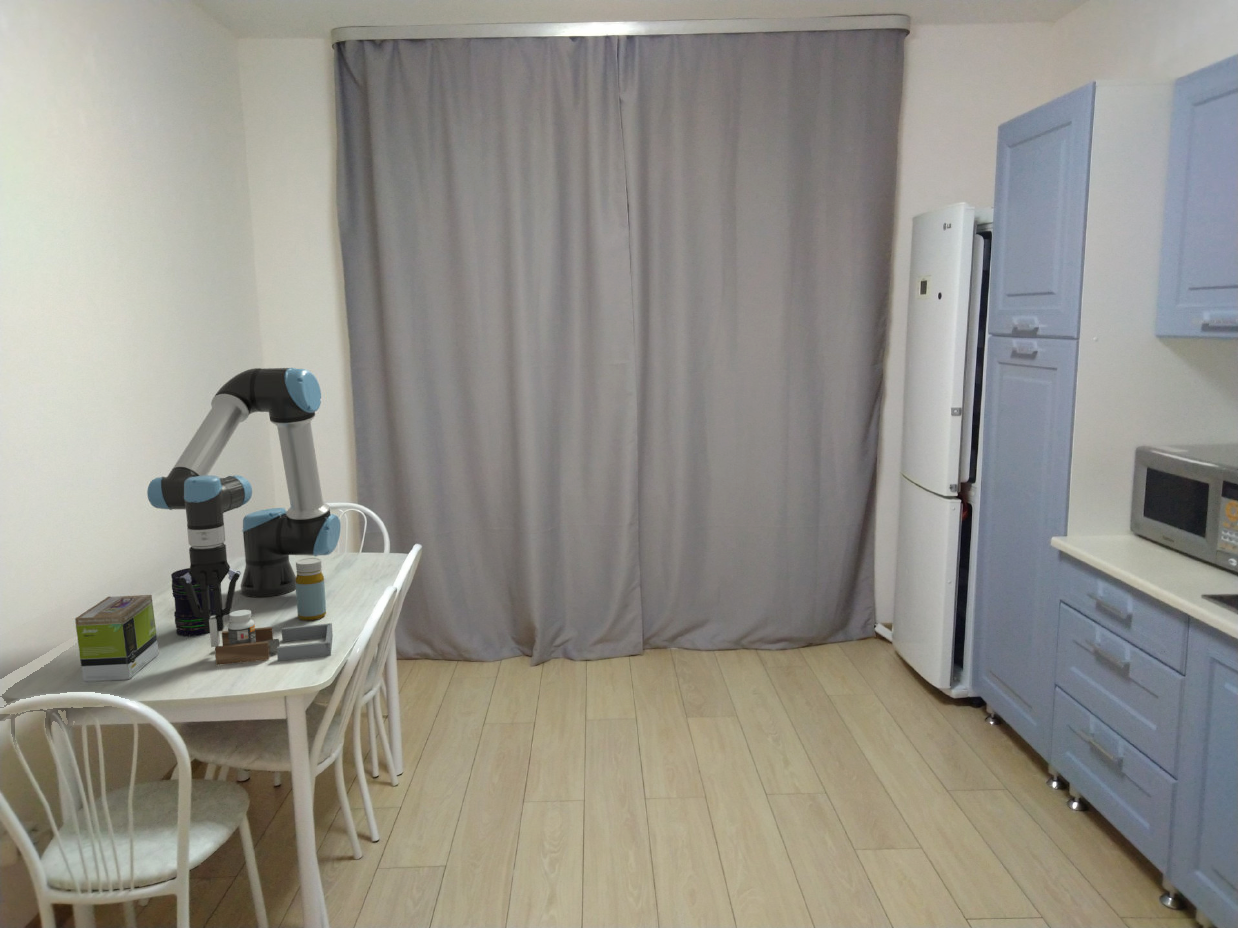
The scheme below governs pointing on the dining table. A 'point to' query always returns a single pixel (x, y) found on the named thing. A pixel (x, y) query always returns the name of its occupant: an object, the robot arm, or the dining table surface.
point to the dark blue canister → (189, 607)
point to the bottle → (310, 589)
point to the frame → (309, 648)
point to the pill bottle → (241, 628)
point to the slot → (244, 648)
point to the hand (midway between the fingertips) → (215, 644)
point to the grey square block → (272, 645)
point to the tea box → (116, 638)
